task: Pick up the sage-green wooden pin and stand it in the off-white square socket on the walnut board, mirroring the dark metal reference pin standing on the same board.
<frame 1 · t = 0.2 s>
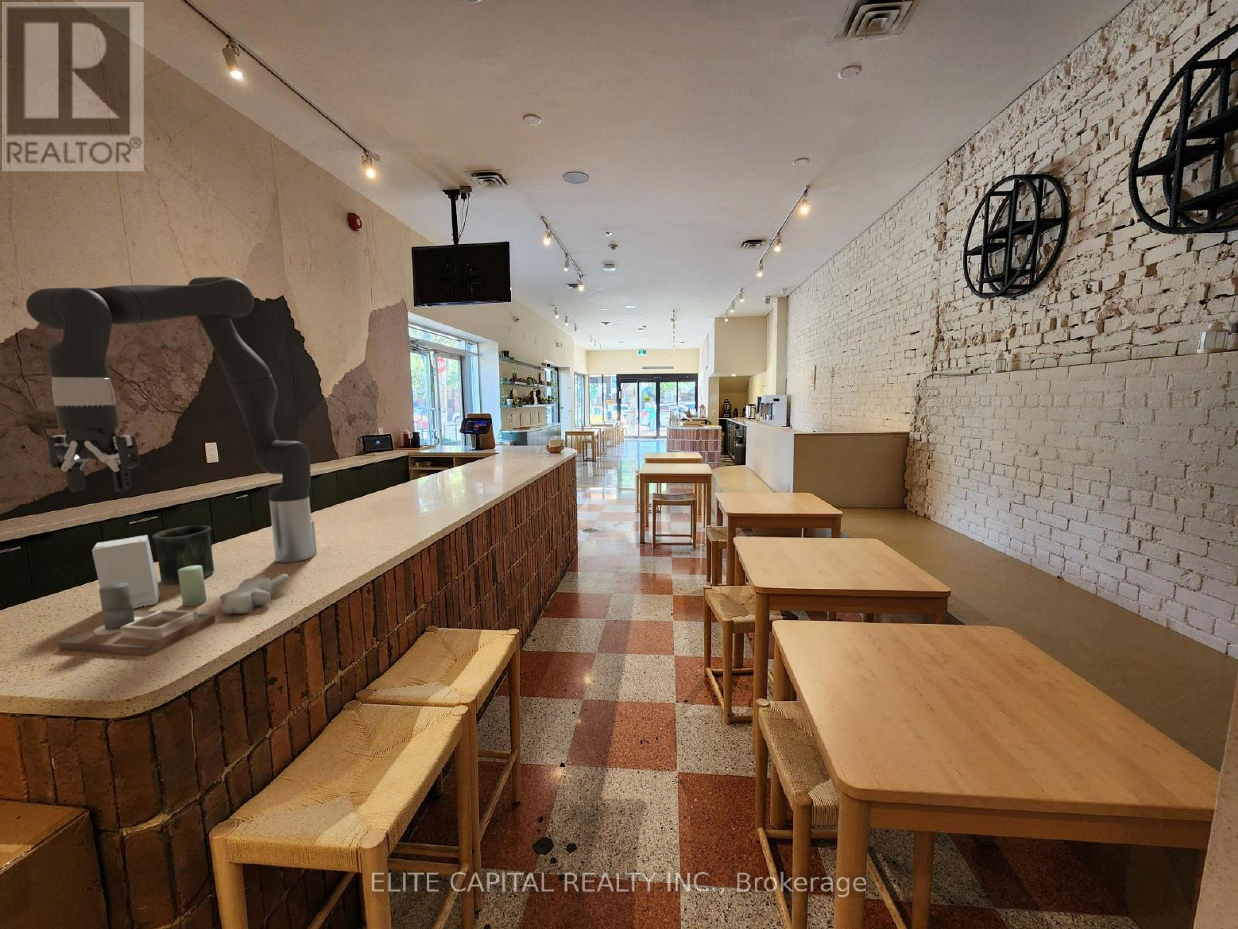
hand: (100, 490, 90), 28 cm above the table, tool pointing down, fingers open, 8 cm apart
layout board: (141, 634, 93), on the table
green pin: (194, 602, 107), on the table
bunny figurine: (255, 603, 108), on the table
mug: (193, 575, 124), on the table
skincare box: (132, 606, 106), on the table
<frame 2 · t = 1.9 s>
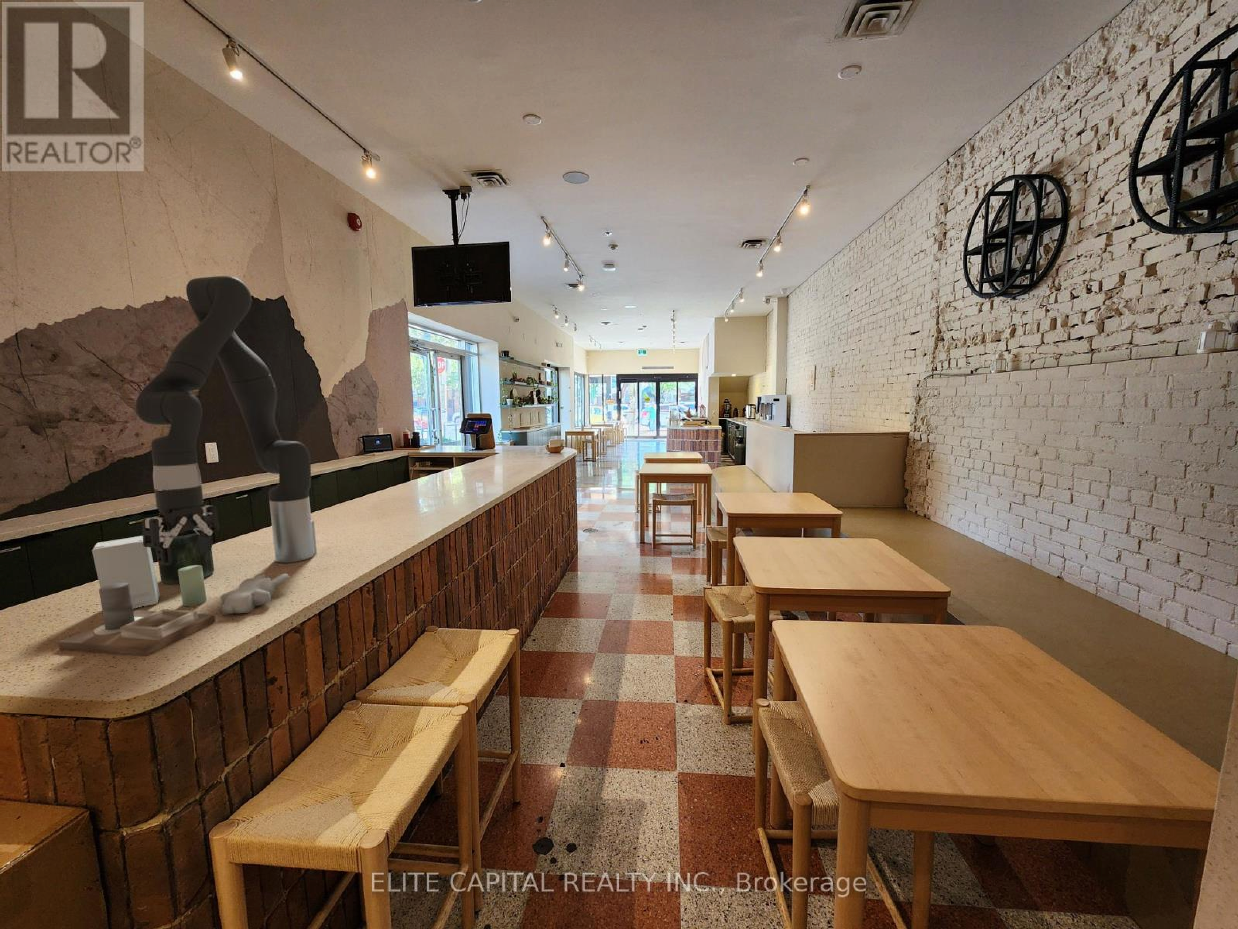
hand: (186, 558, 105), 10 cm above the table, tool pointing down, fingers open, 8 cm apart
nothing on the table moved.
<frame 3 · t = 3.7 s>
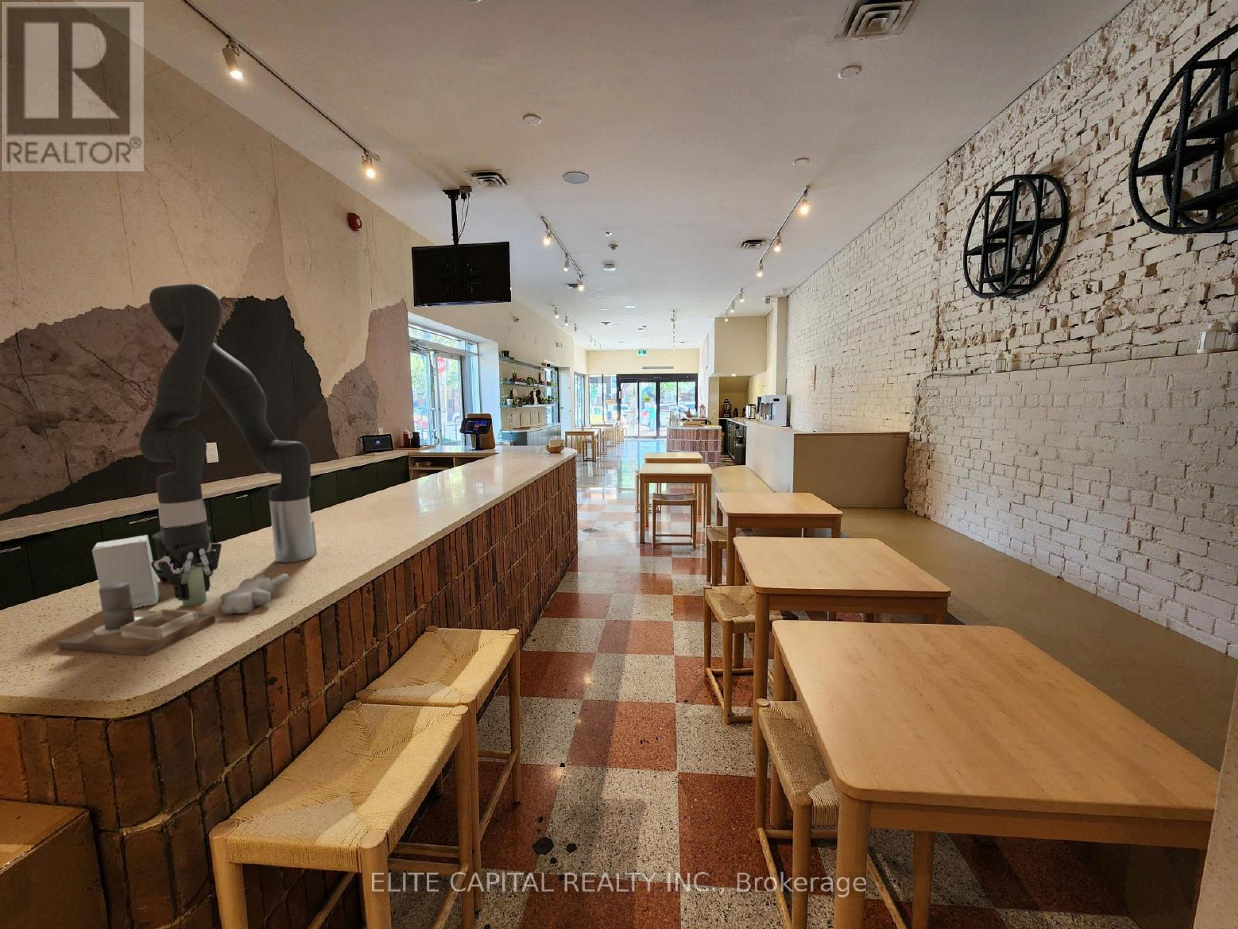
hand: (193, 595, 107), 2 cm above the table, tool pointing down, fingers closed on green pin, 4 cm apart
green pin: (194, 602, 107), on the table, touching gripper
everything else where it was.
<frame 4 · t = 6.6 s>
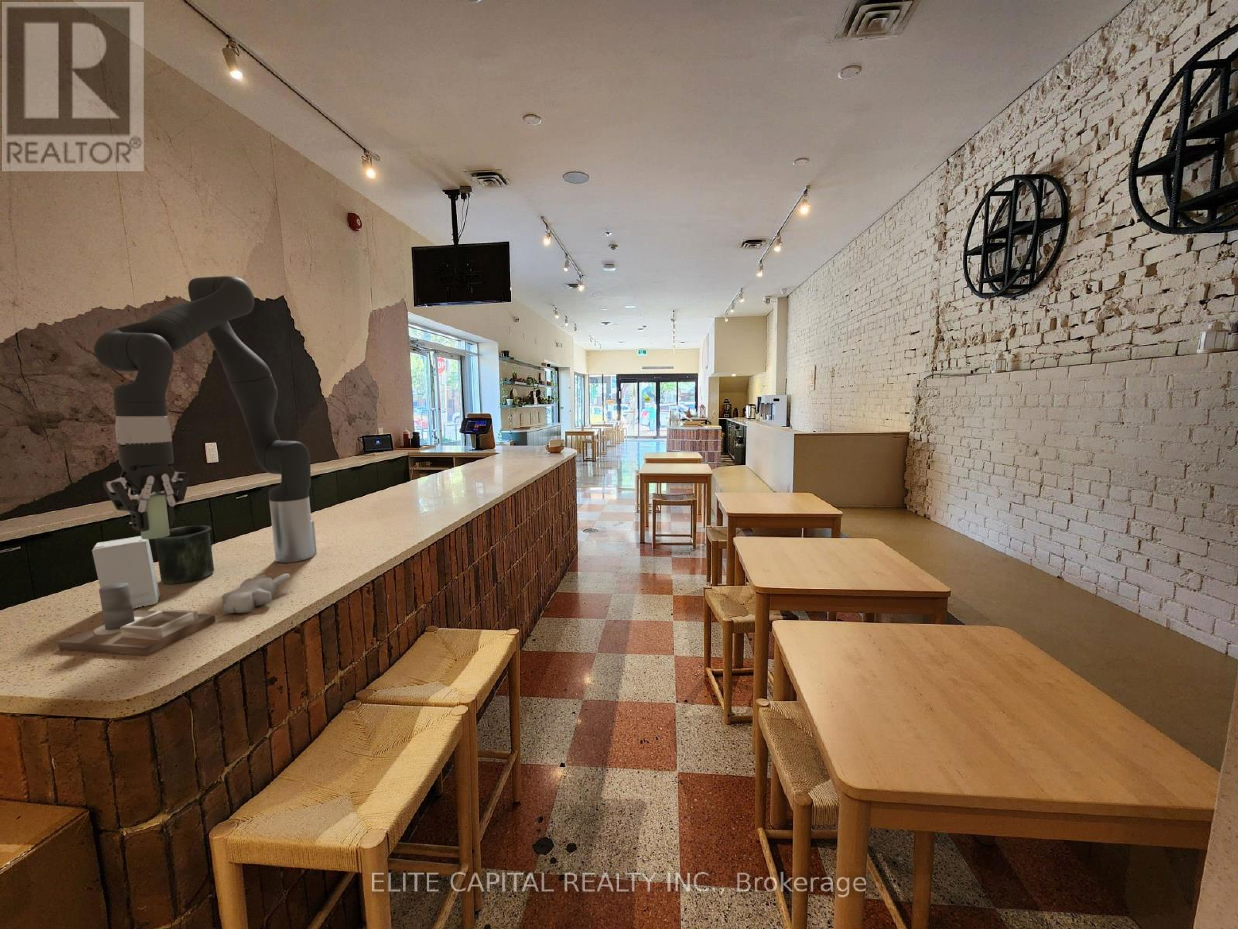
hand: (154, 527, 94), 20 cm above the table, tool pointing down, fingers closed on green pin, 4 cm apart
green pin: (155, 536, 94), point 18 cm above the table, touching gripper
everything else where it was.
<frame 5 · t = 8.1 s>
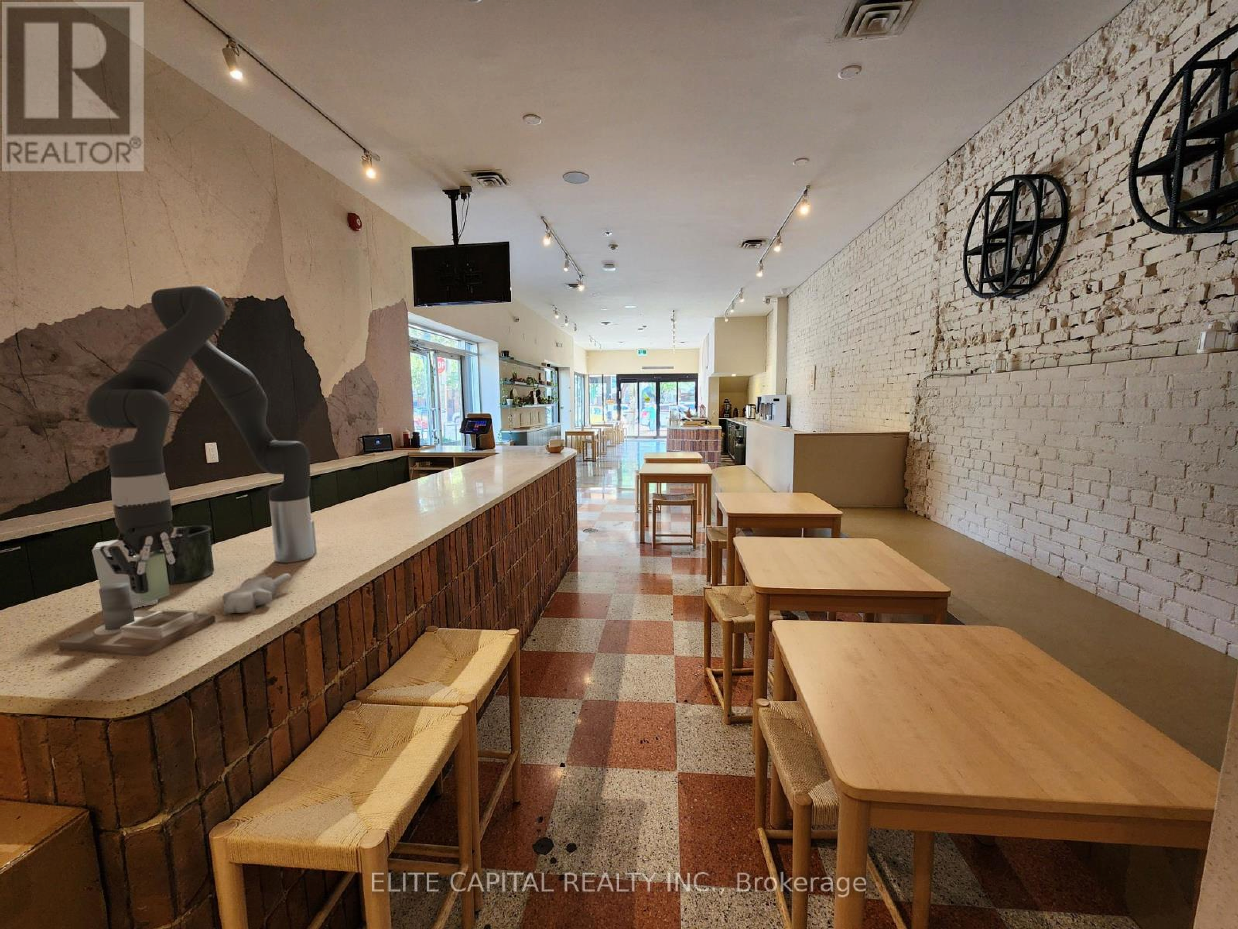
hand: (154, 587, 91), 10 cm above the table, tool pointing down, fingers closed on green pin, 4 cm apart
green pin: (155, 596, 91), point 8 cm above the table, touching gripper
everything else where it was.
when the fingers open (5 cm above the table, at t = 9.4 s): green pin drops 1 cm, resting on layout board.
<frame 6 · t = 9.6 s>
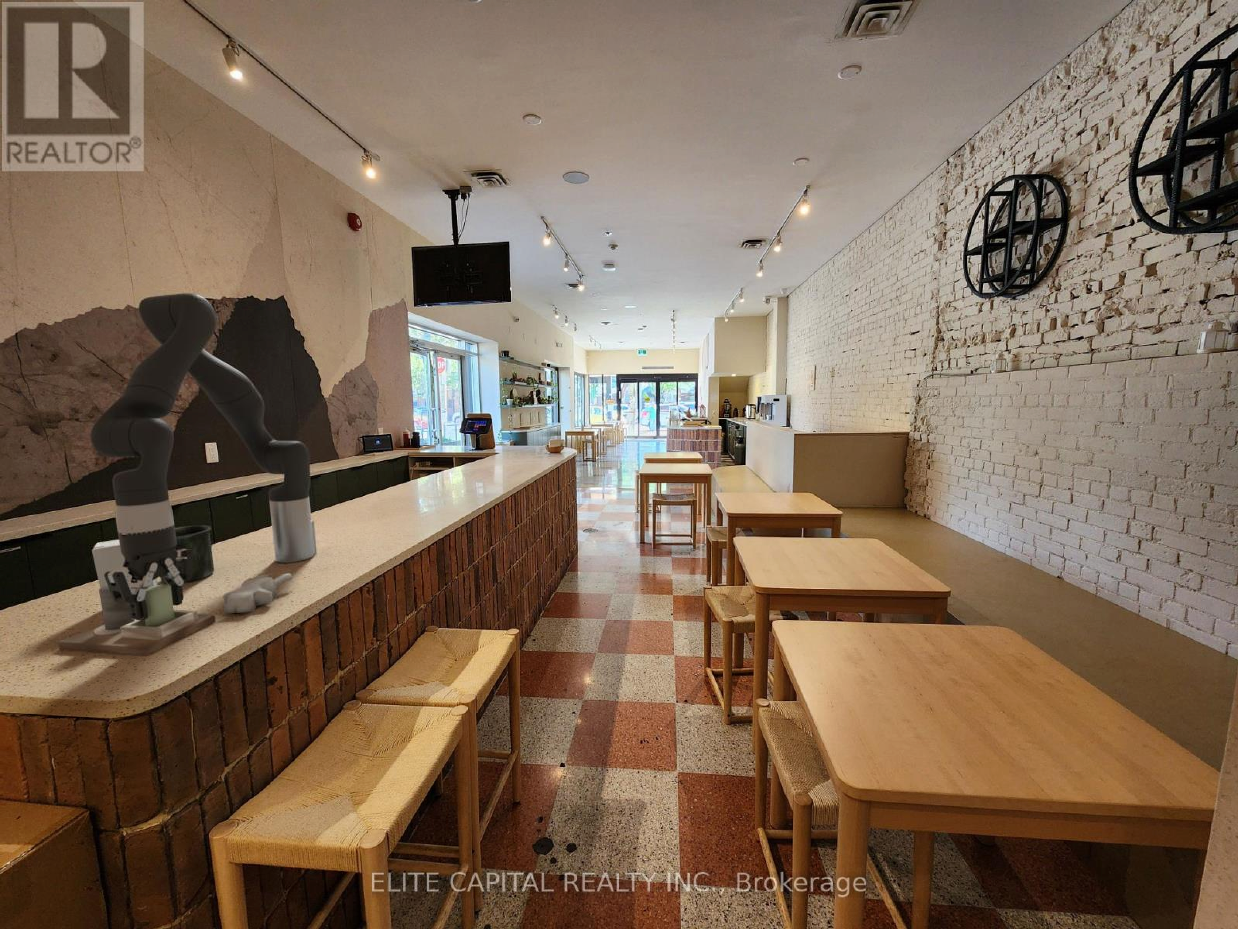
hand: (158, 611, 92), 5 cm above the table, tool pointing down, fingers open, 5 cm apart
green pin: (161, 628, 92), point 2 cm above the table, touching layout board
everything else where it was.
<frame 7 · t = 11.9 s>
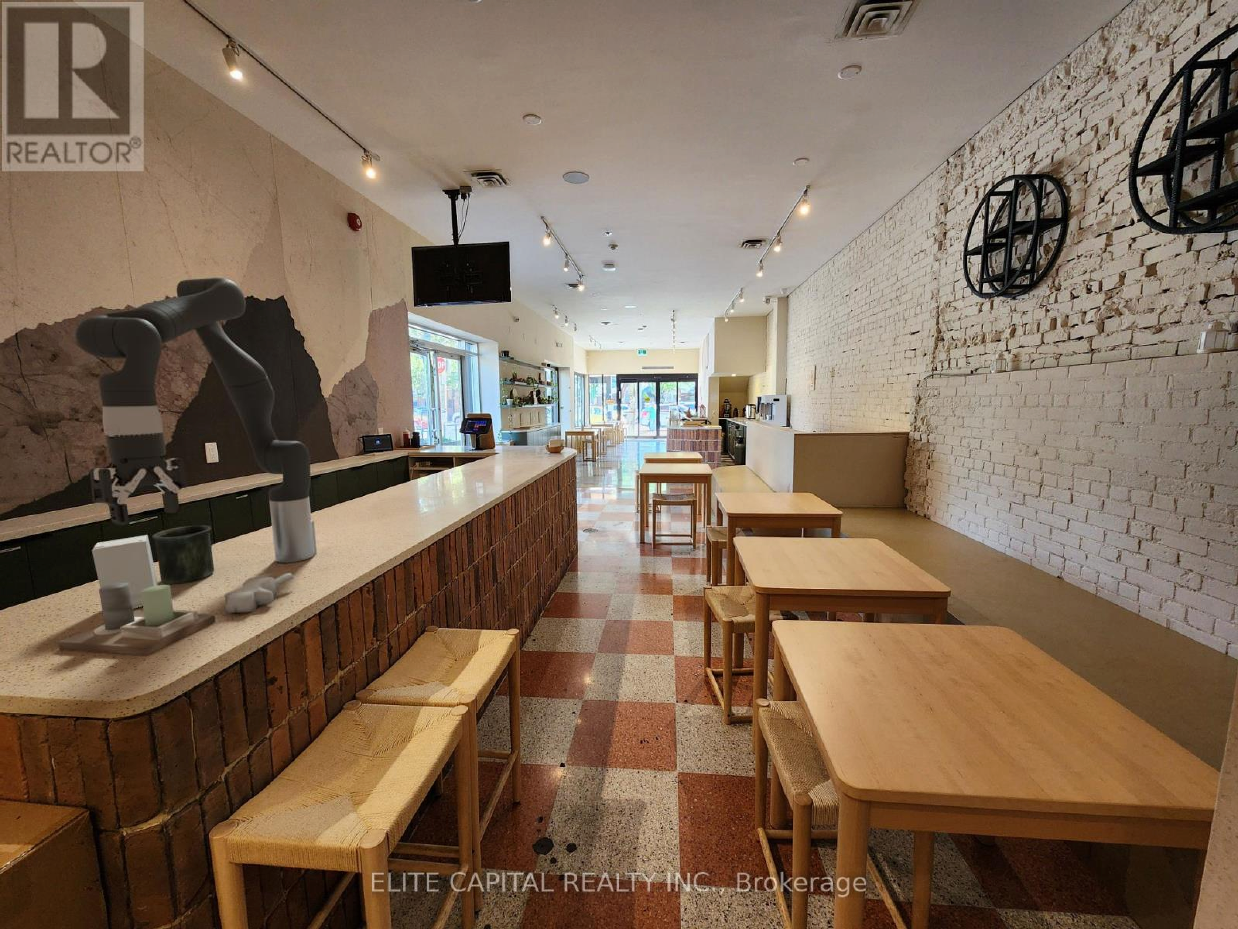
hand: (147, 518, 90), 23 cm above the table, tool pointing down, fingers open, 8 cm apart
nothing on the table moved.
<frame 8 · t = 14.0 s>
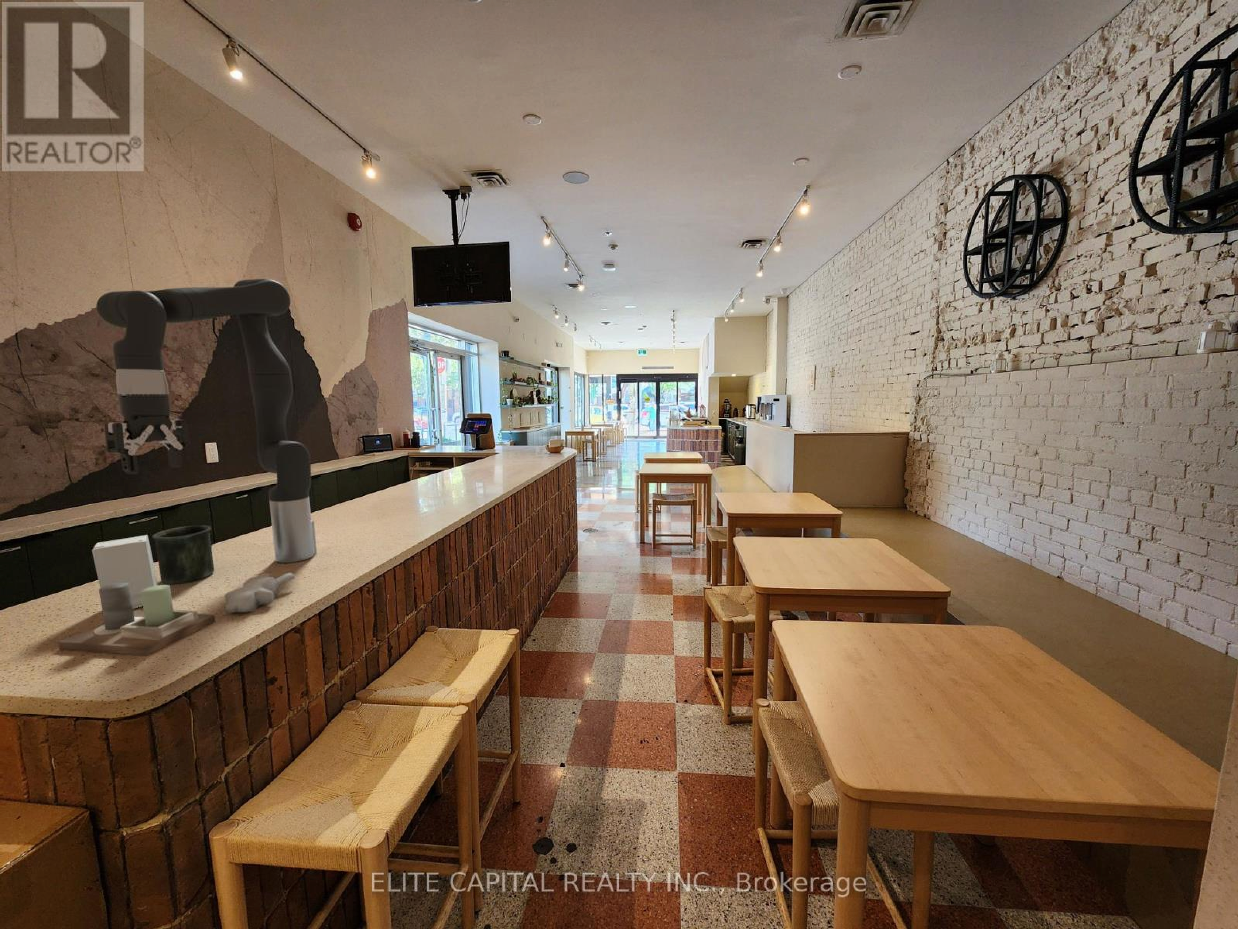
hand: (154, 470, 101), 30 cm above the table, tool pointing down, fingers open, 8 cm apart
nothing on the table moved.
at the end: green pin 0.0 cm from the target spot on the layout board, point 1.5 cm above the layout board's base; green pin tilted 0°; the gripper is holding nothing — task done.
